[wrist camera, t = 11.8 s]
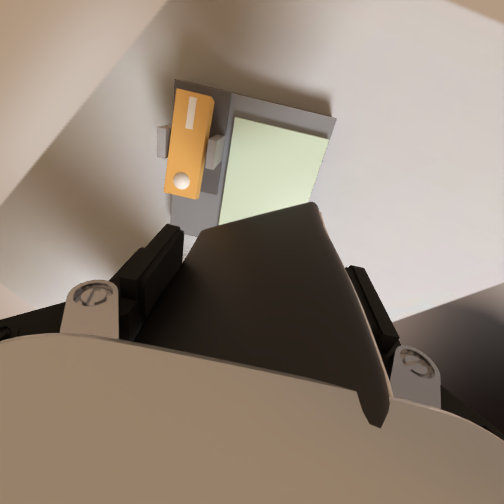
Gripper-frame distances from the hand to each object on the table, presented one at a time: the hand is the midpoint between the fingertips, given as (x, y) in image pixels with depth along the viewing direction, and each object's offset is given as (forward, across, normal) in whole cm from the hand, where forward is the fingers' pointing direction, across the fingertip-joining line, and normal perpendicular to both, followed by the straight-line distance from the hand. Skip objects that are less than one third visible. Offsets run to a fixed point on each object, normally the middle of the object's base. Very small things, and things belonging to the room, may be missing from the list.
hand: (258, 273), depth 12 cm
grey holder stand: (+15, +2, 0) cm, 15 cm away
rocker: (+10, +6, -3) cm, 12 cm away
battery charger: (+4, 0, 0) cm, 4 cm away
